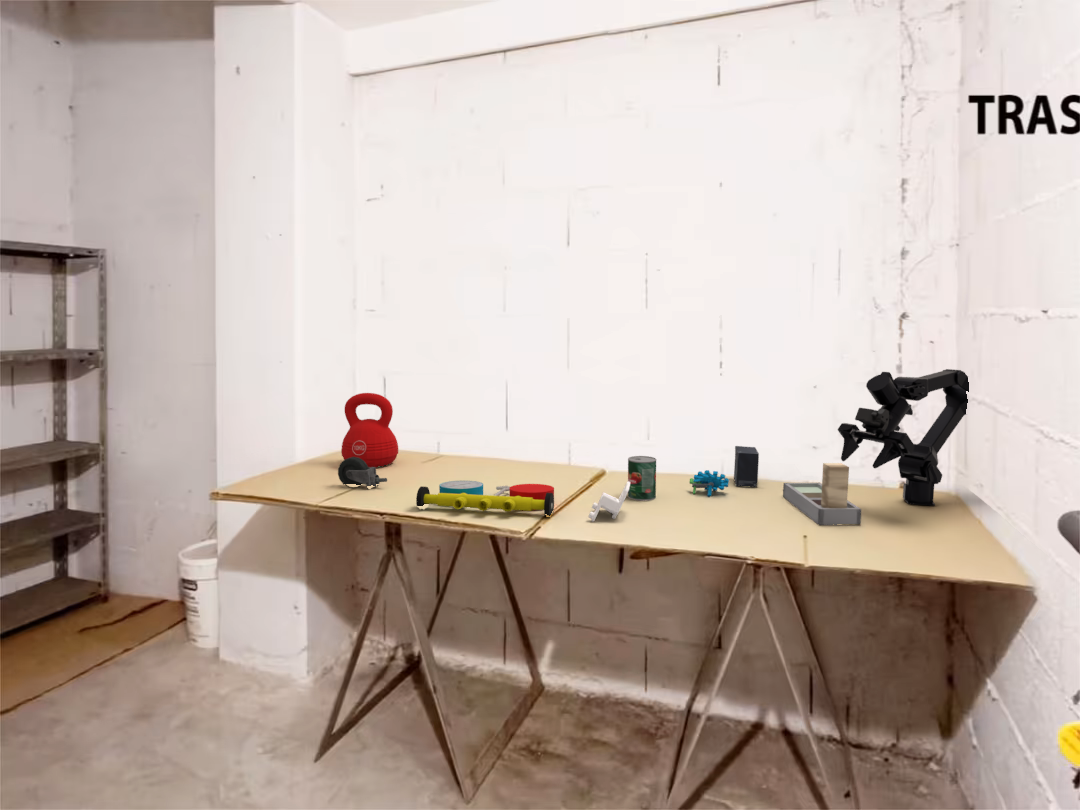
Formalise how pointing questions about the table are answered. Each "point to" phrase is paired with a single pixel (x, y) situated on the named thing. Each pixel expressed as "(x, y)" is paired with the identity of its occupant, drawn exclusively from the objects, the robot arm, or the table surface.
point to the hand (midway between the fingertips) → (857, 463)
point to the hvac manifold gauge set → (490, 496)
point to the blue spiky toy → (709, 481)
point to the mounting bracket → (610, 503)
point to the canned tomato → (642, 478)
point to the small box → (746, 466)
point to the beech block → (834, 485)
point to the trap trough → (819, 505)
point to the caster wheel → (358, 472)
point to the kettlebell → (370, 432)
